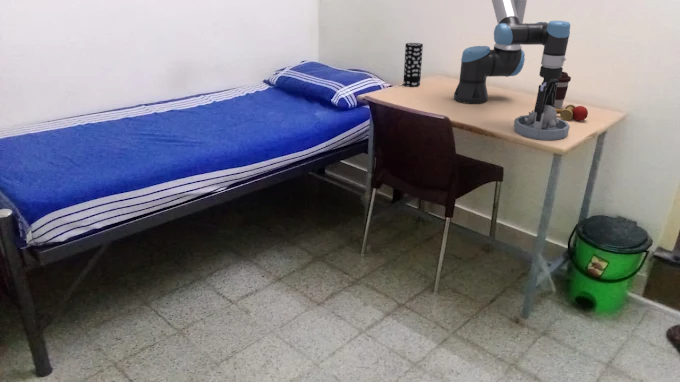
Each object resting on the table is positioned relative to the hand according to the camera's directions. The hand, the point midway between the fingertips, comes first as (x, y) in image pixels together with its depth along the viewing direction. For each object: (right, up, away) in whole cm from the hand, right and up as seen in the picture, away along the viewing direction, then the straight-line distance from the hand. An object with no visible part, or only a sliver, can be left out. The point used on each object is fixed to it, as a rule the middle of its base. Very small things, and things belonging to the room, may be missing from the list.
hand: (541, 126), depth 198 cm
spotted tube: (-41, +29, +64) cm, 81 cm away
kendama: (+15, +6, +17) cm, 24 cm away
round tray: (0, -2, +1) cm, 2 cm away
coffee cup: (+17, +12, +30) cm, 37 cm away
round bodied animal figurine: (0, 0, +1) cm, 1 cm away
